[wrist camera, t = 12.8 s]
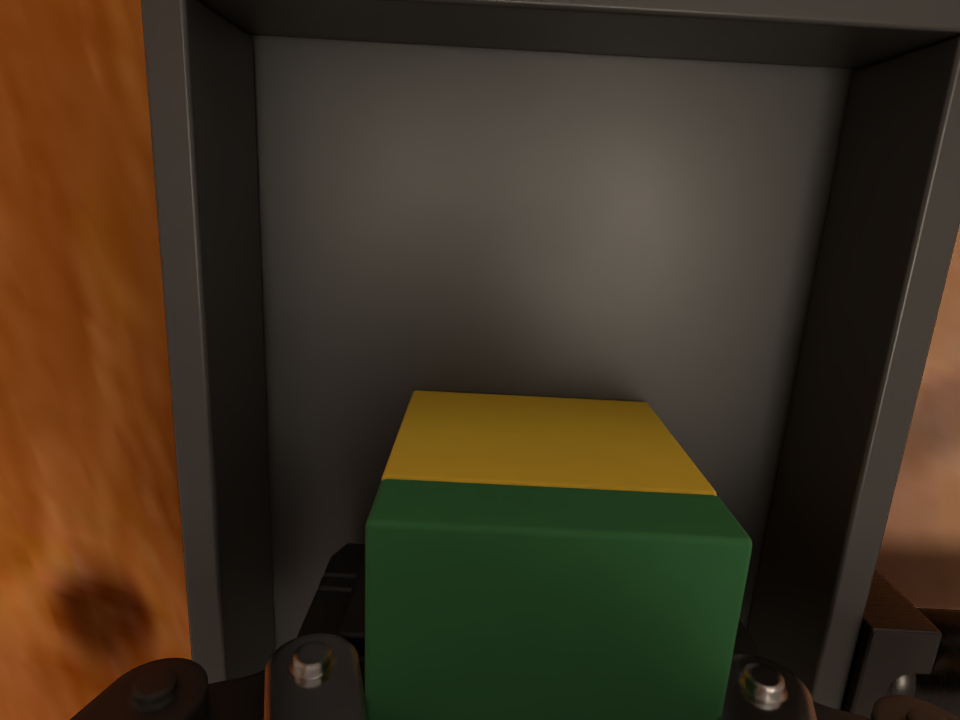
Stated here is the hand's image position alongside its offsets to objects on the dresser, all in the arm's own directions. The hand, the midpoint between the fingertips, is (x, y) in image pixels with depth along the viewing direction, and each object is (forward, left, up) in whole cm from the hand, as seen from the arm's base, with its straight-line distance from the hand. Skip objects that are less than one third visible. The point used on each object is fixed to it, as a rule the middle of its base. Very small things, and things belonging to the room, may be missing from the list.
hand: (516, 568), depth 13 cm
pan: (0, 0, -1) cm, 1 cm away
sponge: (0, 0, 0) cm, 0 cm away
